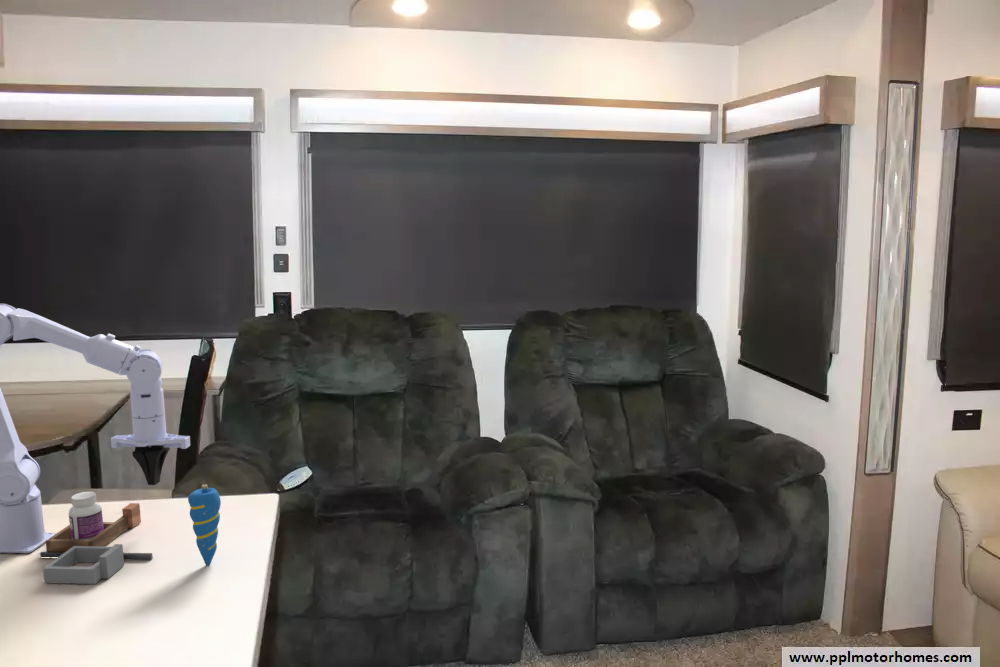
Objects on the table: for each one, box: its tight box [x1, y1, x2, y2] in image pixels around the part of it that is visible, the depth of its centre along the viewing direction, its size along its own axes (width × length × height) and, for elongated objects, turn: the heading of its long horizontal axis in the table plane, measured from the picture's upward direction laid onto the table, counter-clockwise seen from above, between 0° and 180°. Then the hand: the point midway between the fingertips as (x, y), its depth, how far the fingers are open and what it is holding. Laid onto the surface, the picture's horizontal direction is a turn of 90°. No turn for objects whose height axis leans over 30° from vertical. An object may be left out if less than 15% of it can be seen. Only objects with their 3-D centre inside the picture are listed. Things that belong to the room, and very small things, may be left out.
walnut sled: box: [45, 502, 142, 552], centre depth 146 cm, size 10×15×4 cm, turn 177°
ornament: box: [187, 481, 222, 566], centre depth 134 cm, size 5×5×15 cm
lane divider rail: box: [39, 551, 153, 561], centre depth 138 cm, size 20×1×1 cm, turn 87°
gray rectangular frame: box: [42, 543, 125, 585], centre depth 132 cm, size 10×9×4 cm
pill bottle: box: [68, 491, 104, 540], centre depth 143 cm, size 5×5×10 cm
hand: (154, 483), depth 150 cm, fingers closed
